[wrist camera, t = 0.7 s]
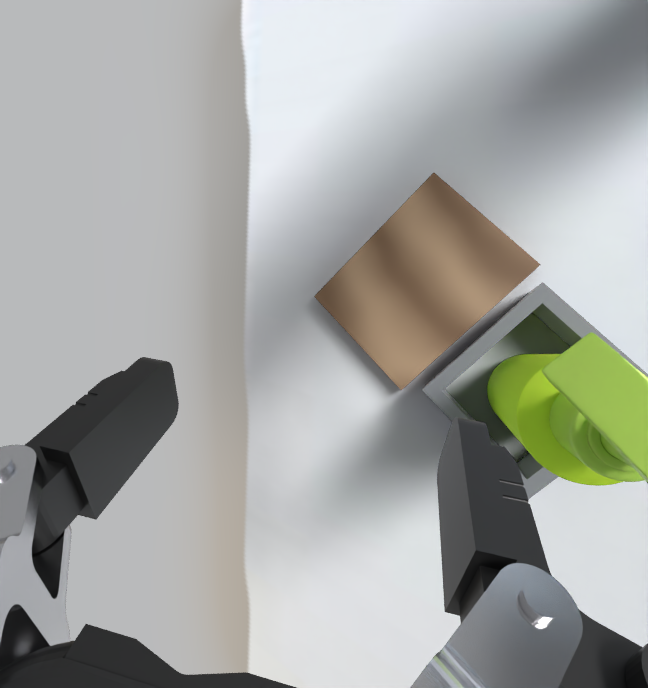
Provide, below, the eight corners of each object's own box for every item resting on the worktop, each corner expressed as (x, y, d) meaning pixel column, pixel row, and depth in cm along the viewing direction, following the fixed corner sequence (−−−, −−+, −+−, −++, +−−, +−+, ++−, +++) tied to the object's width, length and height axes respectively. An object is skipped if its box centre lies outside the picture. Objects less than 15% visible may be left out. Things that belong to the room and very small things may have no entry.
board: (434, 180, 32) (433, 172, 31) (535, 268, 29) (540, 264, 28) (319, 298, 35) (314, 296, 33) (403, 388, 32) (401, 390, 31)
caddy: (530, 291, 30) (542, 282, 26) (637, 387, 27) (669, 393, 23) (424, 385, 32) (421, 390, 28) (515, 481, 30) (526, 500, 26)
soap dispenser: (521, 328, 30) (660, 282, 11) (590, 397, 28) (894, 489, 9) (461, 376, 31) (490, 411, 12) (524, 445, 29) (670, 612, 10)
